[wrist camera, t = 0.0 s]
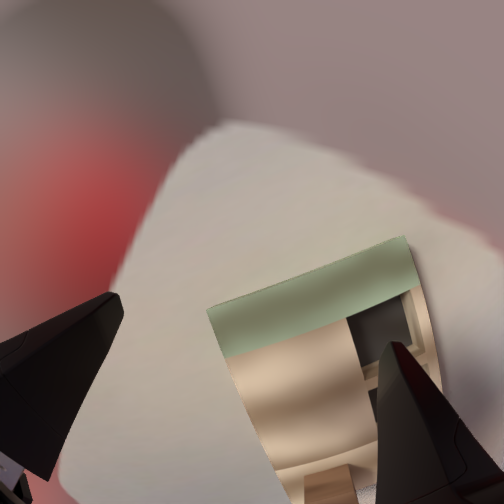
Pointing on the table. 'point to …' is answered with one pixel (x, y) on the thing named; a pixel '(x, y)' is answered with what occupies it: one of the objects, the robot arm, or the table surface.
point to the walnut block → (330, 487)
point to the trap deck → (324, 359)
